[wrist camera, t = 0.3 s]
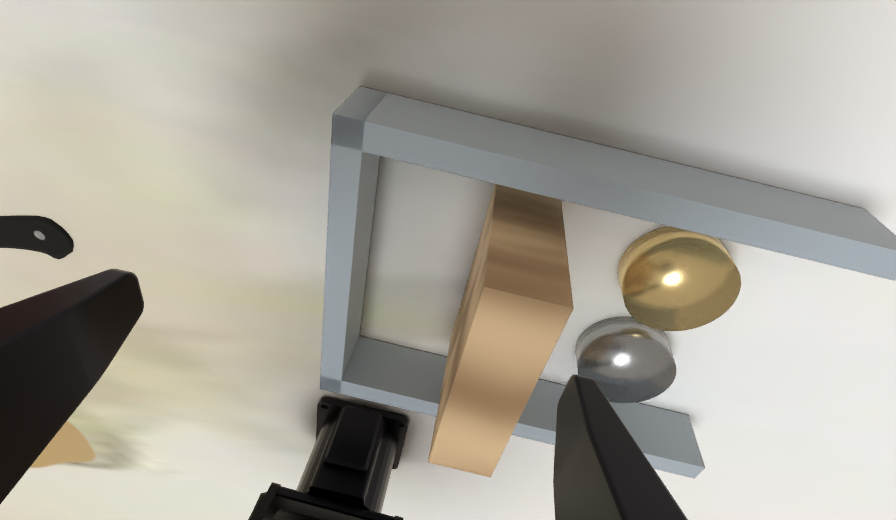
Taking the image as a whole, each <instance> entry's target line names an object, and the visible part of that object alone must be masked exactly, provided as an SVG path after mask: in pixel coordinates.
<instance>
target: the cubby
mask: <svg viewBox="0 0 896 520" xmlns="http://www.w3.org/2000/svg"><path fill="white" fill-rule="evenodd" d="M380 156H383V157H387V158H391V159H395V160H399V161H403V162H408V163H412V164H416V165H420V166H424V167H428V168H432V169H436V170H441V171H445V172H449V173H453V174H457V175H461V176H465V177H469V178H473V179H478V180H482V181H486V182H490V183H494V184H498V185H502V186H506V187H511V188H515V189H519V190H523V191H527V192H531V193H535V194H539V195H544V196H548V197H552V198H556V199H560V200H564V201H568V202H572V203H577V204H581V205H585V206H589V207H593V208H597V209H601V210H605V211H610V212H614V213H618V214H622V215H626V216H630V217H634V218H638V219H643V220H647V221H651V222H655V223H659V224H663V225H667V226H671V227H676V228H680V229H684V230H688V231H692V232H696V233H700V234H704V235H709V236H713V237H717V238H721V239H725V240H729V241H733V242H737V243H742V244H746V245H750V246H754V247H758V248H762V249H766V250H770V251H775V252H779V253H783V254H787V255H791V256H795V257H799V258H803V259H808V260H812V261H816V262H820V263H824V264H828V265H832V266H836V267H841V268H845V269H849V270H853V271H857V272H861V273H865V274H869V275H874V276H878V277H882V278H886V279H890V280H894V281H895V280H896V235H894V234H893V233H892V232H891V231H890V230H889V229H887V228H886V227H885V226H884V225H883V224H882V223H881V222H879V221H878V220H877V219H876V218H875V217H874V216H872V215H871V214H870V213H869V212H868V211H867V210H865V209H863V208H859V207H855V206H851V205H846V204H842V203H838V202H834V201H830V200H826V199H822V198H818V197H814V196H809V195H805V194H801V193H797V192H793V191H789V190H785V189H781V188H777V187H772V186H768V185H764V184H760V183H756V182H752V181H748V180H744V179H740V178H735V177H731V176H727V175H723V174H719V173H715V172H711V171H707V170H703V169H699V168H694V167H690V166H686V165H682V164H678V163H674V162H670V161H666V160H662V159H657V158H653V157H649V156H645V155H641V154H637V153H633V152H629V151H625V150H620V149H616V148H612V147H608V146H604V145H600V144H596V143H592V142H588V141H583V140H579V139H575V138H571V137H567V136H563V135H559V134H555V133H551V132H546V131H542V130H538V129H534V128H530V127H526V126H522V125H518V124H514V123H509V122H505V121H501V120H497V119H493V118H489V117H485V116H481V115H477V114H472V113H468V112H464V111H460V110H456V109H452V108H448V107H444V106H440V105H436V104H431V103H427V102H423V101H419V100H415V99H411V98H407V97H403V96H399V95H394V94H390V93H386V92H382V91H378V90H374V89H370V88H366V87H362V86H360V87H359V88H358V89H357V90H356V91H355V92H354V93H353V94H352V95H351V96H350V97H349V98H348V99H347V100H346V101H345V102H344V103H343V104H342V105H341V106H340V107H339V108H338V109H337V110H336V111H335V112H334V113H333V118H332V139H331V161H330V183H329V204H328V226H327V248H326V269H325V291H324V313H323V334H322V356H321V378H320V389H322V390H327V391H331V392H335V393H339V394H343V395H348V396H352V397H356V398H360V399H364V400H368V401H373V402H377V403H381V404H385V405H389V406H394V407H398V408H402V409H406V410H410V411H414V412H419V413H423V414H427V415H431V416H435V417H436V416H437V411H438V406H439V400H440V395H441V389H442V384H443V379H444V373H445V368H446V362H447V357H444V356H440V355H436V354H432V353H428V352H423V351H419V350H415V349H411V348H407V347H403V346H398V345H394V344H390V343H386V342H382V341H378V340H373V339H369V338H365V337H361V336H359V335H360V327H361V318H362V309H363V301H364V292H365V283H366V275H367V266H368V257H369V249H370V240H371V232H372V223H373V214H374V206H375V197H376V188H377V180H378V171H379V162H380ZM565 387H566V386H565V385H561V384H557V383H553V382H549V381H544V380H540V379H539V380H538V382H537V384H536V386H535V388H534V390H533V392H532V394H531V396H530V398H529V400H528V402H527V404H526V406H525V408H524V410H523V412H522V414H521V416H520V418H519V420H518V422H517V424H516V426H515V428H514V430H513V433H512V435H515V436H519V437H523V438H527V439H532V440H536V441H540V442H544V443H548V444H552V445H555V437H556V418H557V406H558V402H559V399H560V397H561V395H562V393H563V391H564V389H565ZM610 404H611V405H612V407H613V408H614V410H615V411H616V413H617V414H618V416H619V417H620V419H621V420H622V422H623V423H624V425H625V426H626V428H627V429H628V431H629V432H630V434H631V435H632V437H633V438H634V440H635V441H636V443H637V444H638V446H639V447H640V449H641V450H642V452H643V453H644V455H645V456H646V458H647V459H648V461H649V462H650V464H651V465H652V467H653V468H654V469H657V470H661V471H665V472H670V473H674V474H678V475H682V476H686V477H690V478H695V477H696V476H697V475H698V474H699V473H700V472H701V471H702V470H703V469H704V468H705V466H704V462H703V459H702V456H701V453H700V450H699V447H698V444H697V441H696V438H695V435H694V432H693V428H692V425H691V422H690V419H689V416H688V415H686V414H682V413H678V412H674V411H669V410H665V409H661V408H657V407H653V406H649V405H644V404H640V403H636V402H635V403H614V402H610Z"/></svg>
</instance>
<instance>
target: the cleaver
mask: <svg viewBox="0 0 896 520" xmlns="http://www.w3.org/2000/svg"><path fill="white" fill-rule="evenodd" d="M73 247H74V243H73V240H72V238H71V237H70V235H69V234H68V233H67V232H66V231H65V230H64V229H63V228H62V227H61V226H60V225H58V224H57V223H55V222H54V221H53V220H51V219H49V218H45V217H40V216H0V248H16V249H26V250H32V251H38V252H42V253H45V254H48V255H50V256H52V257H53V258H56V259H61V258H64V257H65V256H67V255H68V254H70V253H71V252H73Z"/></svg>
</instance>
